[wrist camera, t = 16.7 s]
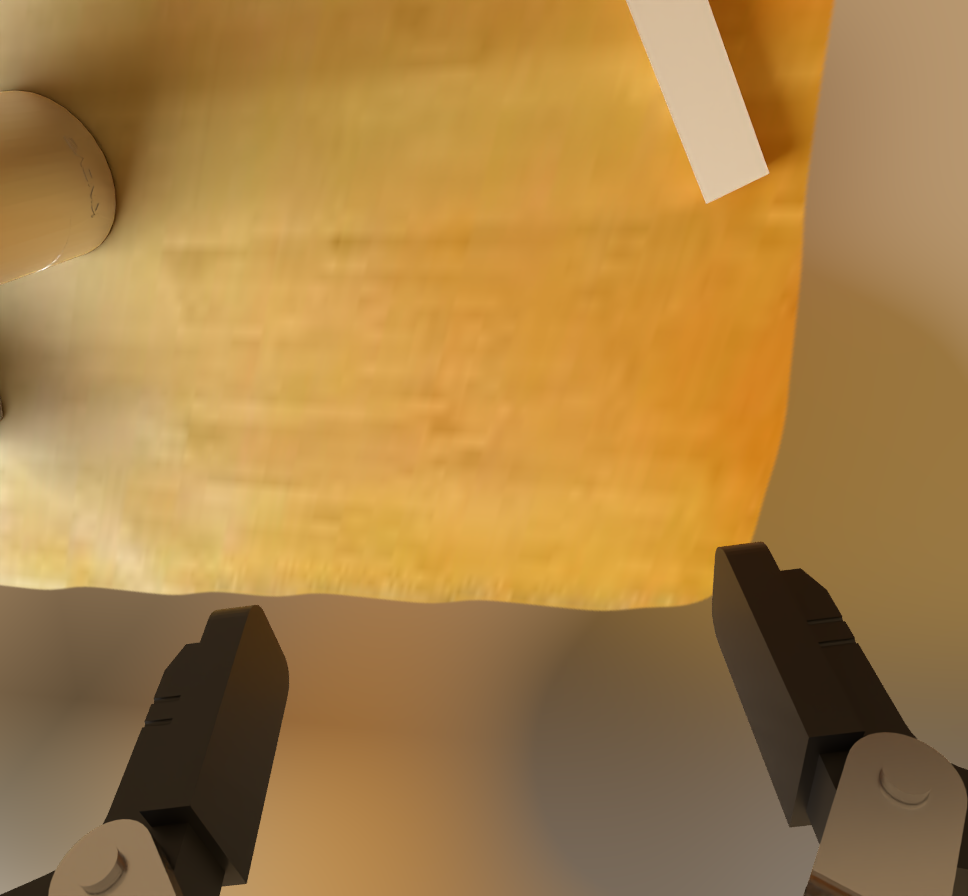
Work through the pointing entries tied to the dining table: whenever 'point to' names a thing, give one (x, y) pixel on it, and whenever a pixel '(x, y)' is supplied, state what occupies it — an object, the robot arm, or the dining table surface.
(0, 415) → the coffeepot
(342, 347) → the dining table surface
